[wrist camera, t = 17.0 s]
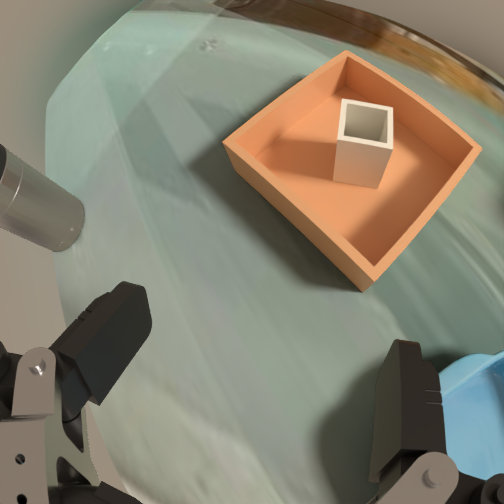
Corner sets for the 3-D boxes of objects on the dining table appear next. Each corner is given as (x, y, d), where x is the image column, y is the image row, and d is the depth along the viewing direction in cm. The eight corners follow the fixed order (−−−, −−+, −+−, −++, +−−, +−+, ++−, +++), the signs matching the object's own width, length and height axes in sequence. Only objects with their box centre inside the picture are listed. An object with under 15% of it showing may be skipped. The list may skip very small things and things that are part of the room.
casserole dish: (540, 504, 20) (562, 518, 13) (420, 584, 21) (430, 609, 14) (493, 313, 31) (524, 307, 25) (341, 408, 32) (348, 424, 26)
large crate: (235, 171, 42) (222, 141, 35) (344, 83, 43) (346, 49, 36) (362, 292, 35) (374, 281, 28) (462, 174, 36) (482, 148, 30)
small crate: (377, 189, 37) (392, 149, 28) (332, 181, 38) (337, 139, 29) (379, 151, 38) (393, 107, 30) (337, 143, 39) (341, 98, 31)
